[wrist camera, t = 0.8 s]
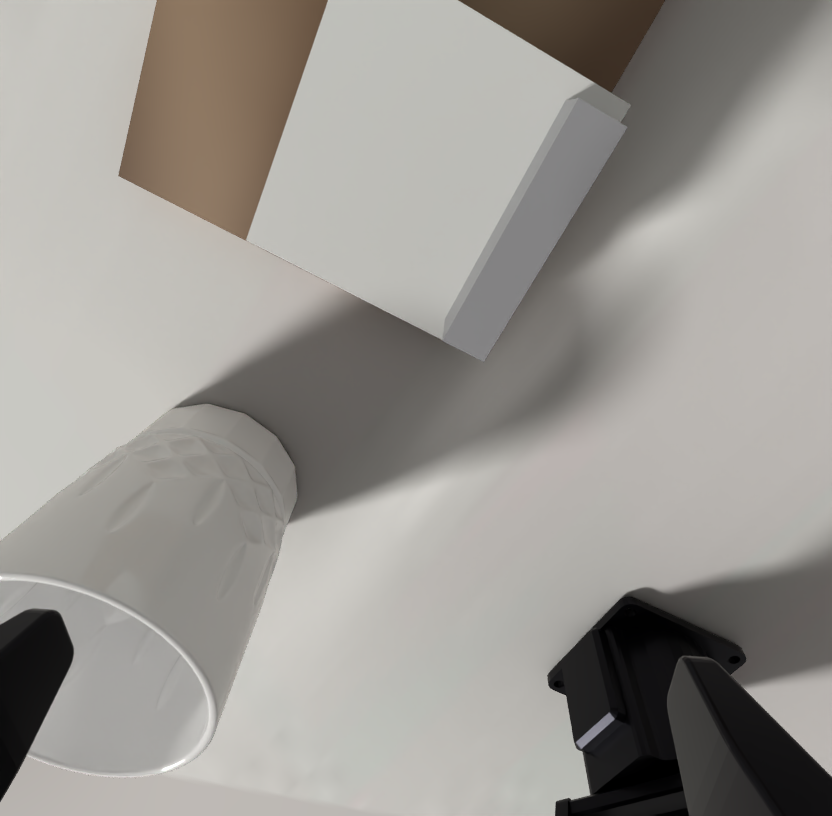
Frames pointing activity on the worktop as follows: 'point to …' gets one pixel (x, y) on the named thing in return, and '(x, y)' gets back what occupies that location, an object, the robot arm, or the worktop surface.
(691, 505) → the worktop surface
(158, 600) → the white cup
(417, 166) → the lid
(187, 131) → the board
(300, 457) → the worktop surface
